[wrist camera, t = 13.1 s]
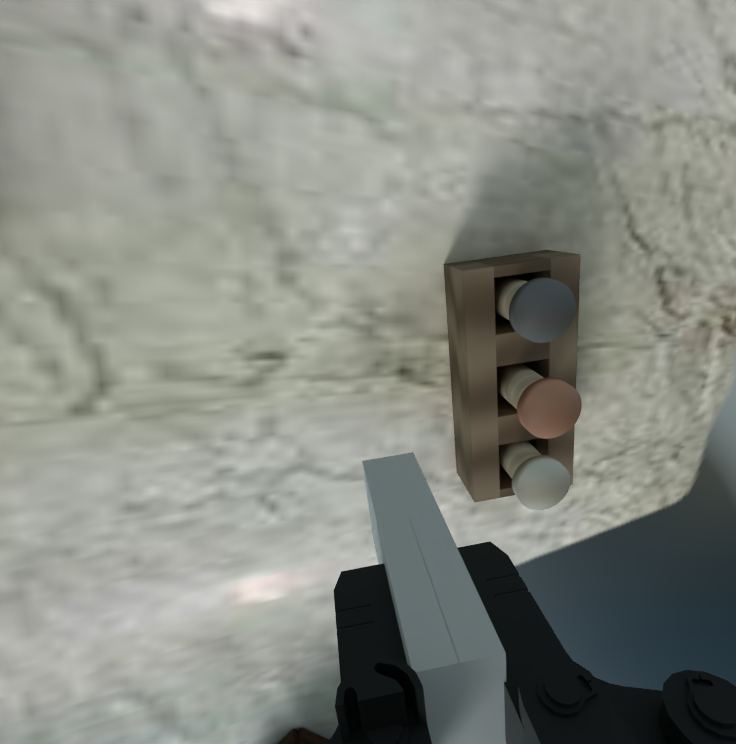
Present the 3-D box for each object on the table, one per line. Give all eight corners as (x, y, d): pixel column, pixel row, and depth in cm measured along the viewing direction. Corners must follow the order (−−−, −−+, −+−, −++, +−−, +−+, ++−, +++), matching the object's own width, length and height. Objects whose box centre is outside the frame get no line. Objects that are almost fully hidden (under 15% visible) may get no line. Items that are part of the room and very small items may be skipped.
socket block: (443, 264, 38) (463, 271, 34) (547, 250, 39) (580, 254, 34) (456, 472, 45) (474, 502, 40) (544, 456, 46) (572, 484, 41)
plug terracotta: (481, 354, 40) (522, 387, 32) (530, 347, 40) (582, 377, 32) (482, 401, 41) (522, 443, 33) (530, 393, 41) (580, 433, 34)
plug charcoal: (473, 270, 38) (514, 284, 31) (523, 263, 39) (576, 275, 31) (475, 322, 40) (515, 347, 32) (524, 315, 40) (574, 337, 33)
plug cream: (479, 422, 43) (516, 466, 35) (524, 415, 43) (571, 457, 36) (481, 463, 44) (517, 514, 37) (525, 456, 45) (569, 504, 37)
